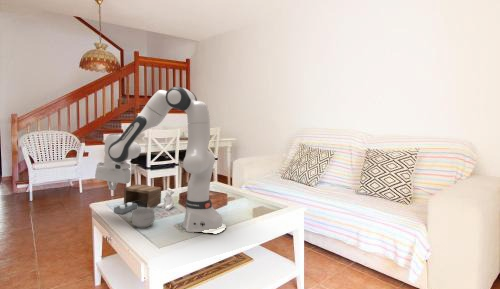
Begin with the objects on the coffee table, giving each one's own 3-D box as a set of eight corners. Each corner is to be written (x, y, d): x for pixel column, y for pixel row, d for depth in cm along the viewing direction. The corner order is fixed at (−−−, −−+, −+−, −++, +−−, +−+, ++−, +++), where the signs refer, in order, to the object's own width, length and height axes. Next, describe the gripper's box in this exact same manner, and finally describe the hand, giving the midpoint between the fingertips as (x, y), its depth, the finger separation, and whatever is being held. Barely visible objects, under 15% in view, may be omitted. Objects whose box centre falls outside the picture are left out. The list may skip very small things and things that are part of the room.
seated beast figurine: (156, 207, 174) (157, 188, 173) (167, 204, 181) (168, 186, 180) (166, 210, 169) (167, 190, 168) (177, 208, 176) (178, 188, 175)
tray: (122, 214, 158) (123, 207, 158) (113, 212, 159) (114, 206, 159) (137, 208, 169) (137, 202, 169) (128, 207, 171) (128, 200, 171)
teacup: (146, 231, 137) (147, 214, 136) (126, 227, 139) (126, 211, 138) (161, 221, 150) (161, 206, 150) (142, 219, 152) (143, 204, 152)
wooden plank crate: (160, 203, 182) (161, 187, 181) (148, 208, 171) (149, 191, 170) (136, 200, 187) (137, 184, 186) (123, 204, 176) (124, 187, 175)
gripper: (92, 162, 152) (91, 188, 153) (124, 166, 146) (123, 193, 147) (101, 161, 158) (100, 186, 159) (133, 165, 152) (131, 191, 153)
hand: (112, 189), depth 153 cm, fingers closed
